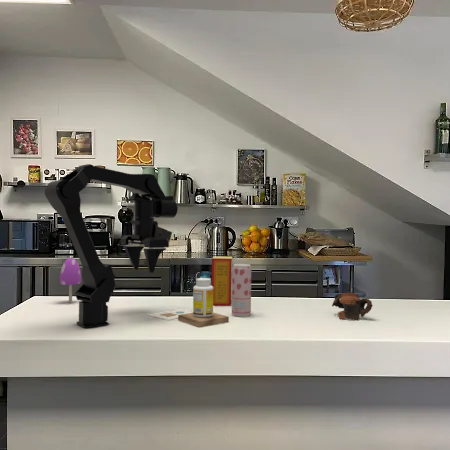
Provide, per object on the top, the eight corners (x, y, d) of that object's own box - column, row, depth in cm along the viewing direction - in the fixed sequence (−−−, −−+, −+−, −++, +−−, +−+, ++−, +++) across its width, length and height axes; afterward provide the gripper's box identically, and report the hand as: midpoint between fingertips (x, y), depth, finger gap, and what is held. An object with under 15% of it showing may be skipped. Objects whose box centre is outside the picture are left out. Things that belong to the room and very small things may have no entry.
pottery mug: (328, 320, 124) (326, 293, 128) (340, 329, 130) (338, 303, 135) (369, 314, 118) (366, 286, 122) (380, 324, 124) (377, 297, 128)
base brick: (199, 327, 111) (199, 321, 111) (178, 320, 119) (178, 314, 119) (228, 322, 118) (228, 316, 118) (206, 315, 125) (207, 310, 125)
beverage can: (229, 315, 125) (229, 265, 125) (235, 312, 131) (235, 263, 131) (247, 317, 123) (248, 265, 123) (253, 313, 129) (253, 264, 129)
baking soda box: (213, 300, 150) (213, 255, 150) (231, 300, 150) (232, 255, 150) (211, 305, 141) (211, 257, 141) (230, 306, 141) (231, 257, 141)
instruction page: (168, 320, 119) (168, 319, 119) (148, 315, 125) (148, 314, 125) (198, 313, 128) (198, 312, 128) (178, 309, 134) (178, 308, 134)
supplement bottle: (212, 313, 121) (212, 277, 121) (213, 317, 116) (214, 280, 116) (192, 313, 121) (193, 277, 121) (193, 318, 115) (193, 280, 115)
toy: (76, 304, 140) (77, 258, 140) (56, 304, 140) (56, 258, 140) (83, 301, 146) (84, 257, 146) (64, 300, 146) (64, 257, 146)
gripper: (185, 217, 122) (184, 272, 122) (152, 218, 137) (152, 266, 137) (150, 217, 115) (150, 275, 115) (120, 217, 130) (119, 268, 130)
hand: (143, 271), depth 124 cm, fingers open, 9 cm apart
